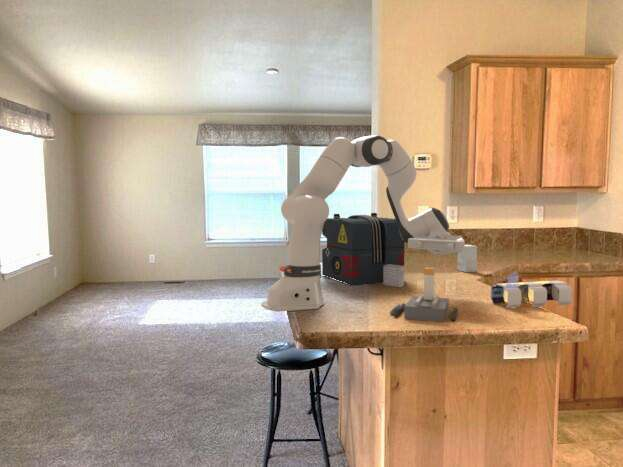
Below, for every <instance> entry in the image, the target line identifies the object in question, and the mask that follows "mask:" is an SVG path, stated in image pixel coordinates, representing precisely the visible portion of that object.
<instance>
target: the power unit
mask: <svg viewBox="0 0 623 467" xmlns="http://www.w3.org/2000/svg"><path fill="white" fill-rule="evenodd" d="M321 236H323V237H325V238H326V247H324V248H323V249H321V252H322V253H321V255H322V256H321V257H322V258H321V259H322V260H321V262H322V263H321V264H322V265H321V276H322V275H325V276H328V277H331V278H334V279H336V280H339V281H342V282H345V283H347V284H346V285H348V284H350V285H349V286H351V285H356V286H364V284H366V285H374V284H375V283H376V284H383V266H384V265H388V264H390V265H400V266H404V267H405V242H404V240H403V239H402V237H401V235H400V232H399V227H398V224H397V222H396V219H395V218H390V217H378V214H377V212H372V213H371V214H370V215H369V214H353V215H350V216H348V217H341V216H340V213H334V214H333V218H331V217H330V218H327V220H326V221H325V222H324V226H323V230H322V234H321ZM336 280H335V281H336ZM339 281H338V282H339ZM342 282H341V283H342ZM345 283H344V284H345ZM376 284H375V285H376Z"/></svg>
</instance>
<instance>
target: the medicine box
mask: <svg viewBox="0 0 623 467" xmlns="http://www.w3.org/2000/svg"><path fill="white" fill-rule="evenodd" d="M382 284H383V286H389V287H395V288H402V287H404V286H405V265H404V266H400V265H390V264H388V265H384V266H383V283H382Z"/></svg>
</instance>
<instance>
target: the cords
mask: <svg viewBox="0 0 623 467" xmlns="http://www.w3.org/2000/svg"><path fill="white" fill-rule="evenodd" d="M406 304H407V303H405V302H403V303H400V302H397V303H396V304H395V305H394V307H393V308H392V309H390V311H389V314H390V315H393V316H394V317H395V318H397V317H398V316H399V315H400V314H401V312H402V311H404V309H405V305H406ZM458 312H459V308H458V307H454V308H453V311H452V313H451V315H450V320H451V321H455V320H456V319H457V315H458Z"/></svg>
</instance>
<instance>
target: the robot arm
mask: <svg viewBox="0 0 623 467" xmlns="http://www.w3.org/2000/svg"><path fill="white" fill-rule="evenodd" d="M351 166H352V167H355V168H361V167H362V168H369V167H370V168H371V167H374V166H379V167H380V168H381V169H382V171H383V173H384V175H385V177H386V179H387V183H388V185H387V187H386V190H385V191H386V196H387V200H388V203H389V205H390V208H391V211H392V213H393V216H394V219H396V222H397V224H398V227H399V232H400V235H401V237H402V239H403V240H404V242H405V243H406V244H407V248H409V249H412V250H415V249H416V250H427V251H428V252H429V253H430V254H432V255H434V256H441V255H449V254H458V253H461V252H464V248H465V245H466V244H465V239H464V238H463V236H462V235H457V234H456V235H455V234H452V233H450V232H449V230H450V224H449V222H448V220H447V218H446V216H445V215H444V213H443V212H442V210H440V209H438V208H436V207H430V208H428V209H426V210H423V211H422V212H421V213H418V214H416V215H415V216H412V217H410V218H408V217H406V213H405V212H404V208H403V206H402V203H401V200H402V198H403V196H404V195H405V194H406V193H407V192H408V191H409V190H410V189H411V187H412V186H413V185H414V183H415V181H416V179H417V170H416V167H415V164H414V162H413V161H412V159H411V158H410V156H409V154H408V153H407V151H406V150H405V148H403V146H402V145H401V144H400V143H399V142H398V141H397V140H395V139H386V138H385V137H384V136H381V135H378V134H377V135H376V134H373V135H367V136H361V137H358V138H355V139H352V140H351V139H349V138H346V137H343V136H342V137H341V136H338V137H335V138H334V139H333V140H332V141H330V143H329V144H328V145H327V146H326V148H325V149H324V150H323V152H321V154H320V156H319V157H318V158H317V160H316V162H315V163H314V165H313V166H312V167H311V169H310V171H309V173H308V174H307V175H306V177H305V178H303V180H302V181H301V182H300V183H299V184H298V185H297V186H296V188H295V189H293V191H292V193H291V194H290V195H288V197H287V198H285V199H284V200H283V202H282V203H281V207H280V212H281V215H282V217H283V218H284V219H285V221H287V222H289V223H290V224H292V225H293V229H292V234H291V236H290V239H289V241H288V264H287V265H286V266H284V265H280V266H279V267H278V270H279V272H282V273H283V276H281V277H280V279H279V280H277V281H276V282H275V283H273V285H271V286H270V287H269V289H268V293H267V300H263V301H261V307H262V308H264V309H265V310H268V311H272V312H290V311H291V312H292V311H304V310H315V309H320V307H321V306H323V305H324V304H325V301H324V296H323V292H322V285H321V279H322V265H321V264H322V263H320V262H321V261H320V260H321V255H320V254H321V252H320V251H321V250H320V249H321V238H322V230H323V226H324V222H325V221H326V220H327V218H328V217H329V215H330V207H329V205H328V203H327V201H326V199H327V198H328V197H329V196H331V195H332V194H333V193H334V192H335V191H336V189H337V188H338V186H339V185H340V183H341V181H342V180H343V179H344V177H345V175H346V173H347V171H348V170H349V169H350V167H351Z"/></svg>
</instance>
